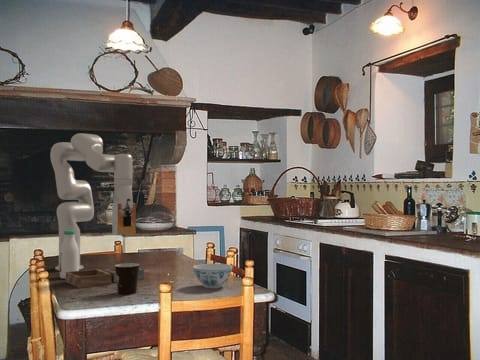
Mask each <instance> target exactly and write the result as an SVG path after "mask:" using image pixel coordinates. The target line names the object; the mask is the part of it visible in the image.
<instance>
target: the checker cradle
mask: <svg viewBox="0 0 480 360" xmlns="http://www.w3.org/2000/svg"><path fill="white" fill-rule="evenodd" d="M103 271H104V272H107V273H110V274H111V283H115V282H117V279H116V271H115V267H114V268H105V269H103ZM141 280H145V271H144V269H142V268H140V267H139V273H138V281H141Z"/></svg>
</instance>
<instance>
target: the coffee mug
mask: <svg viewBox="0 0 480 360" xmlns="http://www.w3.org/2000/svg"><path fill="white" fill-rule="evenodd" d="M114 268H115V271H116V279H117V283H116V286H117V287H116V289H117V294H118V295H120V294H121V295H122V296H126V295H127V296H128V295H130V294H131V295H135V294H137V288H138V282H139V280H138V273H139V268H140V264H139V263H131V262H130V263H118V264H115V265H114ZM121 295H120V296H121ZM131 295H130V296H131Z"/></svg>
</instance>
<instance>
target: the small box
mask: <svg viewBox="0 0 480 360" xmlns="http://www.w3.org/2000/svg"><path fill="white" fill-rule="evenodd" d="M111 208H112V209H111V211H112V215H111V217H112V218H111V219H112V222H111V224H112V227H111V229H112V233H111V235H115V236H117V235H119V236H122V235H124V236H125V235H136V203H134V202H133V209H132V213H131V226H123V217H124V209H123V210H120V204H113V203H112V204H111ZM125 209H128V208H125ZM126 212H127V211H126Z"/></svg>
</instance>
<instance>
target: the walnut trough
mask: <svg viewBox="0 0 480 360" xmlns="http://www.w3.org/2000/svg"><path fill="white" fill-rule="evenodd" d="M65 283H67V284H69V285H70V286H71V285H72V286H73V287H75V288H77V289H81V288H90V287H91V288H92V287H100V286H108V285H109V284H110V285H112V282H111V274H110V273H107V272H104V270H101V269H99V268H95V269H85V270H83V269H81V270H79V271H72V272H66V279H65Z"/></svg>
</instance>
